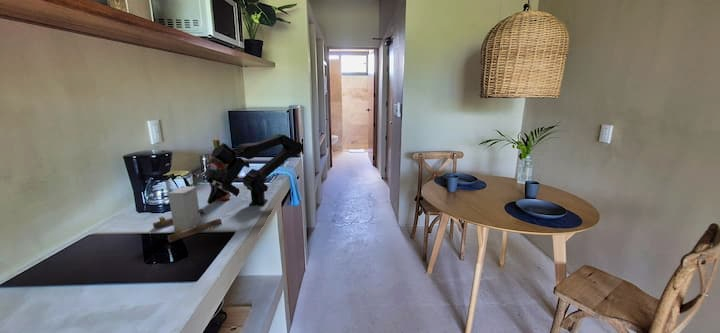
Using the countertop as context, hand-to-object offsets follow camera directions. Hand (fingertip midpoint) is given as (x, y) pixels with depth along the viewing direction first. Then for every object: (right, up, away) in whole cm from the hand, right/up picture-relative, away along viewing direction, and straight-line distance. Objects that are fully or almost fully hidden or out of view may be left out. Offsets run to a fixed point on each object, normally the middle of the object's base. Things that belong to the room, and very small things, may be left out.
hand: (208, 203), depth 120 cm
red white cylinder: (-4, -1, +23) cm, 23 cm away
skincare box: (-5, -8, -4) cm, 11 cm away
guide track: (-5, -8, -4) cm, 11 cm away
